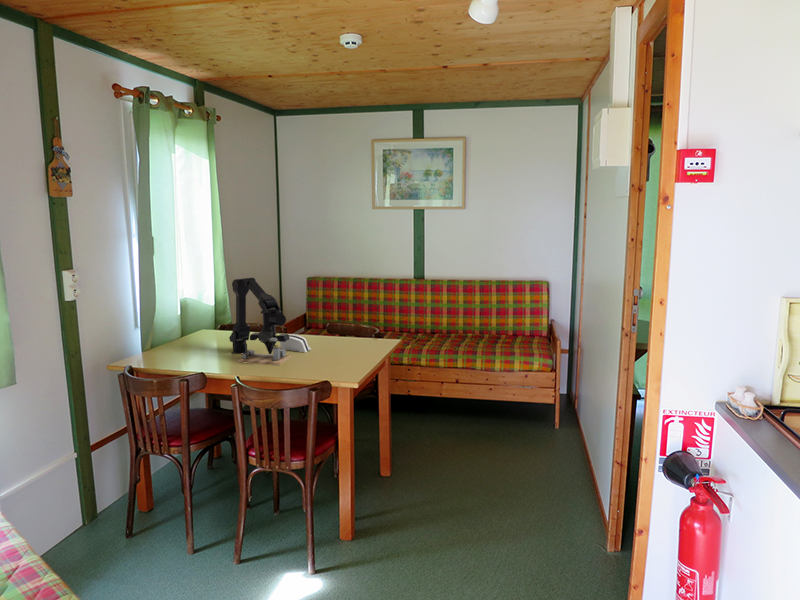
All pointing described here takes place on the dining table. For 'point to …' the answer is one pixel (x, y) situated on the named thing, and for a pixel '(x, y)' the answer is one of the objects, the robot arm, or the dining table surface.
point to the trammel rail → (256, 355)
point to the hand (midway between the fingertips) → (270, 354)
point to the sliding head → (278, 352)
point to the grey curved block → (295, 344)
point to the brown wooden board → (264, 360)
